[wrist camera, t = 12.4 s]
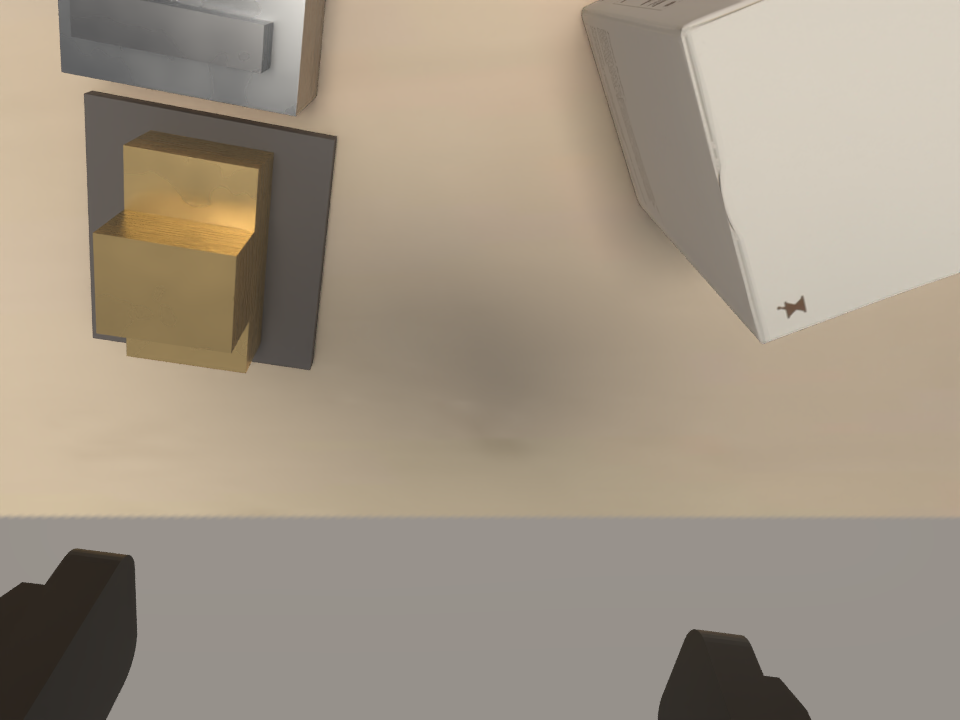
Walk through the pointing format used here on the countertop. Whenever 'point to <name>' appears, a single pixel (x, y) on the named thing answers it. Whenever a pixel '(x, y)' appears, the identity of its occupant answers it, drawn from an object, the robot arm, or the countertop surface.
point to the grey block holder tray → (200, 48)
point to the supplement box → (791, 144)
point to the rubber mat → (292, 207)
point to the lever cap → (186, 252)
